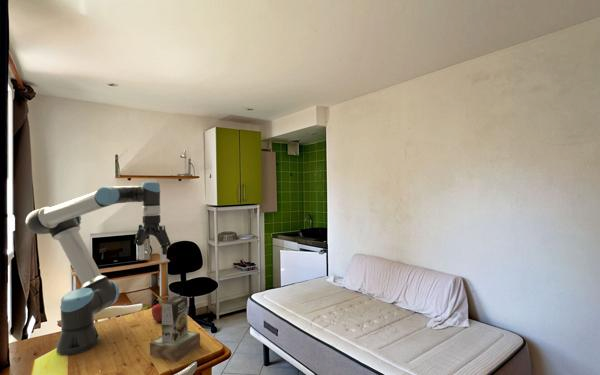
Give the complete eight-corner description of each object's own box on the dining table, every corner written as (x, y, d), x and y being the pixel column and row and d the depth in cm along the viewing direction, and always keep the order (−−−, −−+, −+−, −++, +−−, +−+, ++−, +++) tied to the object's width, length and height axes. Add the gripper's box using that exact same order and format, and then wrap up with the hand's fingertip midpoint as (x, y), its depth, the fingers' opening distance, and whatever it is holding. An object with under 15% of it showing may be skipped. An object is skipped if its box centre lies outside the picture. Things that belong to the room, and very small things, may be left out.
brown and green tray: (150, 354, 131) (149, 342, 131) (175, 339, 144) (174, 327, 144) (176, 361, 126) (176, 348, 126) (200, 344, 139) (199, 332, 139)
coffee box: (174, 343, 129) (174, 304, 129) (161, 341, 131) (160, 303, 131) (188, 333, 138) (187, 296, 138) (175, 331, 140) (175, 295, 139)
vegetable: (147, 320, 164) (147, 300, 164) (166, 313, 172) (166, 295, 172) (157, 326, 157) (157, 306, 157) (177, 319, 165) (177, 300, 164)
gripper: (125, 214, 149) (125, 259, 149) (166, 216, 139) (166, 264, 140) (138, 213, 156) (139, 256, 156) (178, 214, 146) (179, 260, 147)
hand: (152, 260), depth 148 cm, fingers open, 13 cm apart
